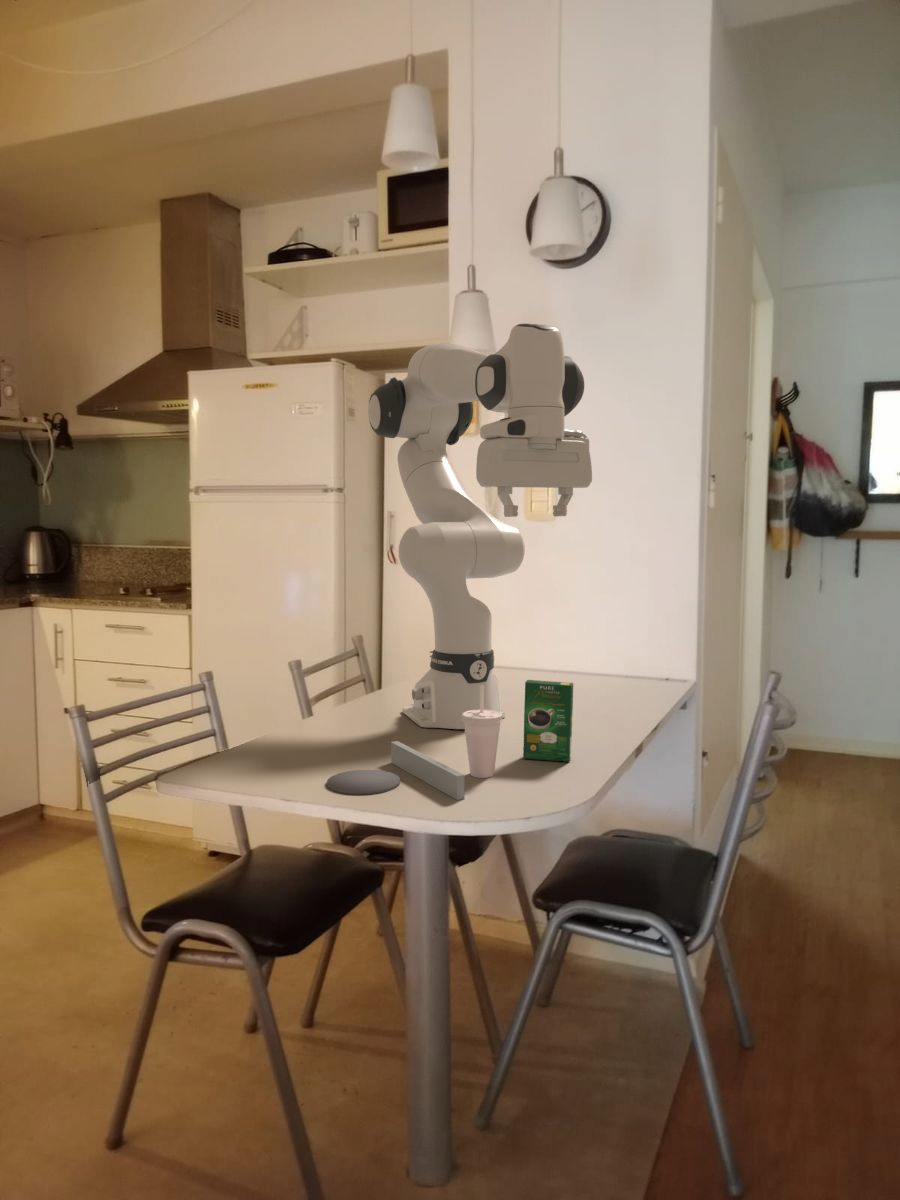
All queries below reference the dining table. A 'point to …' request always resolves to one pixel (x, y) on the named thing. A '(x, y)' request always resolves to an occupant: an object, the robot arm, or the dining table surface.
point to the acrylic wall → (428, 770)
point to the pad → (363, 782)
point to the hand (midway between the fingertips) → (535, 516)
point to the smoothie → (482, 738)
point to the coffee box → (548, 720)
